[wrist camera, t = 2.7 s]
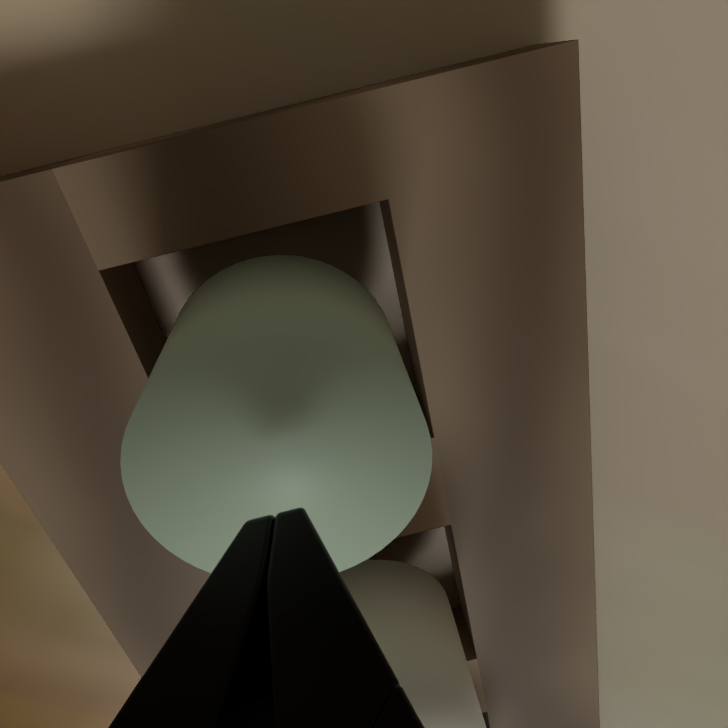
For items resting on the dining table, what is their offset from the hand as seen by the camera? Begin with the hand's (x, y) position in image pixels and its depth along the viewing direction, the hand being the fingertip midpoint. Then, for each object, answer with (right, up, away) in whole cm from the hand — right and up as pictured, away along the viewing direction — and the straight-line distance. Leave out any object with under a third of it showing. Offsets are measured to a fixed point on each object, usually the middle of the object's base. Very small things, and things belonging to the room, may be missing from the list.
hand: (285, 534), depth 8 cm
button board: (+1, -4, +11) cm, 12 cm away
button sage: (-1, +2, +5) cm, 5 cm away
